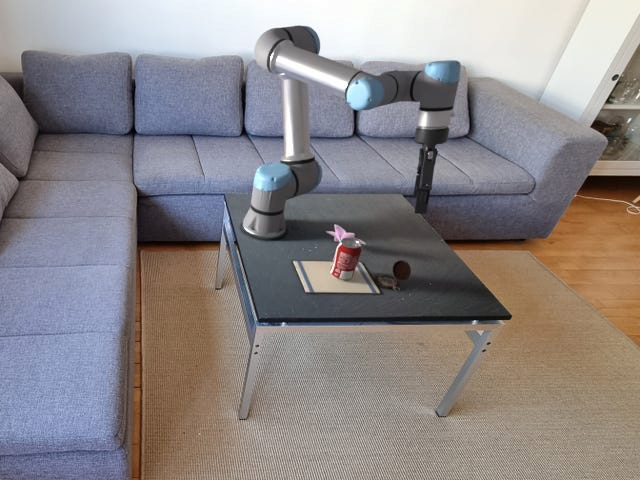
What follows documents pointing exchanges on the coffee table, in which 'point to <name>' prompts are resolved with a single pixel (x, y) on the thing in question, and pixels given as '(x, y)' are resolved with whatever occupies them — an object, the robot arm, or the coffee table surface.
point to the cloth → (333, 279)
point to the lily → (342, 234)
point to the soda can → (346, 259)
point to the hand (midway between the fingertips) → (419, 205)
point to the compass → (395, 275)
